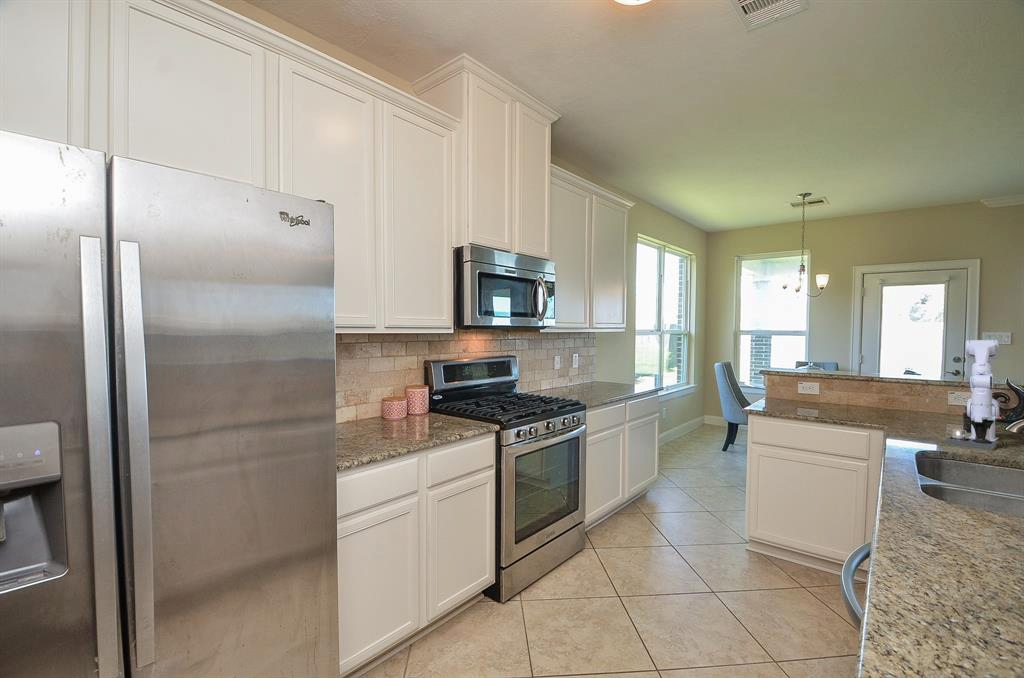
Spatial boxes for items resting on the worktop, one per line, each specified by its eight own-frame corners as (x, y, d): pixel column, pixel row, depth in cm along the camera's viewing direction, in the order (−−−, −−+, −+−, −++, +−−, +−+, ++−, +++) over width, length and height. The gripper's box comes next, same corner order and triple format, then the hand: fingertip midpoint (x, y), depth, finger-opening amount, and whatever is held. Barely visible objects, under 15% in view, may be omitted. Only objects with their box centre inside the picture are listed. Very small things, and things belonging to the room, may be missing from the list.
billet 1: (953, 442, 188) (953, 428, 188) (967, 444, 185) (967, 429, 185) (951, 443, 186) (951, 429, 186) (965, 445, 183) (964, 431, 183)
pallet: (951, 442, 191) (951, 436, 191) (996, 448, 180) (996, 441, 180) (945, 444, 186) (945, 438, 186) (991, 451, 175) (991, 444, 175)
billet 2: (976, 441, 183) (976, 426, 183) (990, 443, 180) (990, 428, 180) (974, 442, 181) (974, 427, 181) (988, 444, 177) (988, 429, 177)
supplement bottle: (974, 431, 215) (973, 406, 215) (987, 433, 208) (987, 408, 208) (958, 430, 216) (958, 405, 216) (971, 433, 209) (971, 408, 209)
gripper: (992, 407, 173) (993, 442, 173) (999, 404, 181) (1000, 437, 181) (967, 405, 179) (967, 439, 178) (975, 402, 187) (975, 434, 187)
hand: (982, 438), depth 180 cm, fingers closed on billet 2, 4 cm apart
